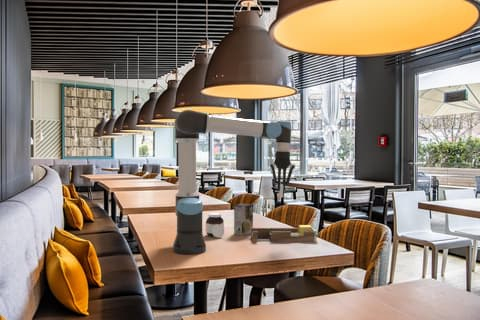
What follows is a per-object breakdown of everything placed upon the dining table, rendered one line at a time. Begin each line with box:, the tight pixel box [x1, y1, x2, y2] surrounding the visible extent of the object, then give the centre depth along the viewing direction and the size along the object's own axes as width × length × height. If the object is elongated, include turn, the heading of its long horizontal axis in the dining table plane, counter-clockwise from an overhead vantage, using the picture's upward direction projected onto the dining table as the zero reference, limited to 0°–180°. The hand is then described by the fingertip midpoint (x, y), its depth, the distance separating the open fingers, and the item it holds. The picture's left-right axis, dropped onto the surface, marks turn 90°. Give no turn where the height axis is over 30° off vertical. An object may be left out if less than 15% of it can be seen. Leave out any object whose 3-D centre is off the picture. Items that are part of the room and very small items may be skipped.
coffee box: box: [233, 203, 254, 236], centre depth 226 cm, size 9×6×16 cm
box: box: [250, 226, 318, 243], centre depth 212 cm, size 10×33×6 cm, turn 93°
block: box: [298, 224, 313, 235], centre depth 213 cm, size 5×6×4 cm
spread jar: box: [205, 212, 225, 239], centre depth 219 cm, size 12×11×12 cm
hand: (280, 197), depth 209 cm, fingers closed
